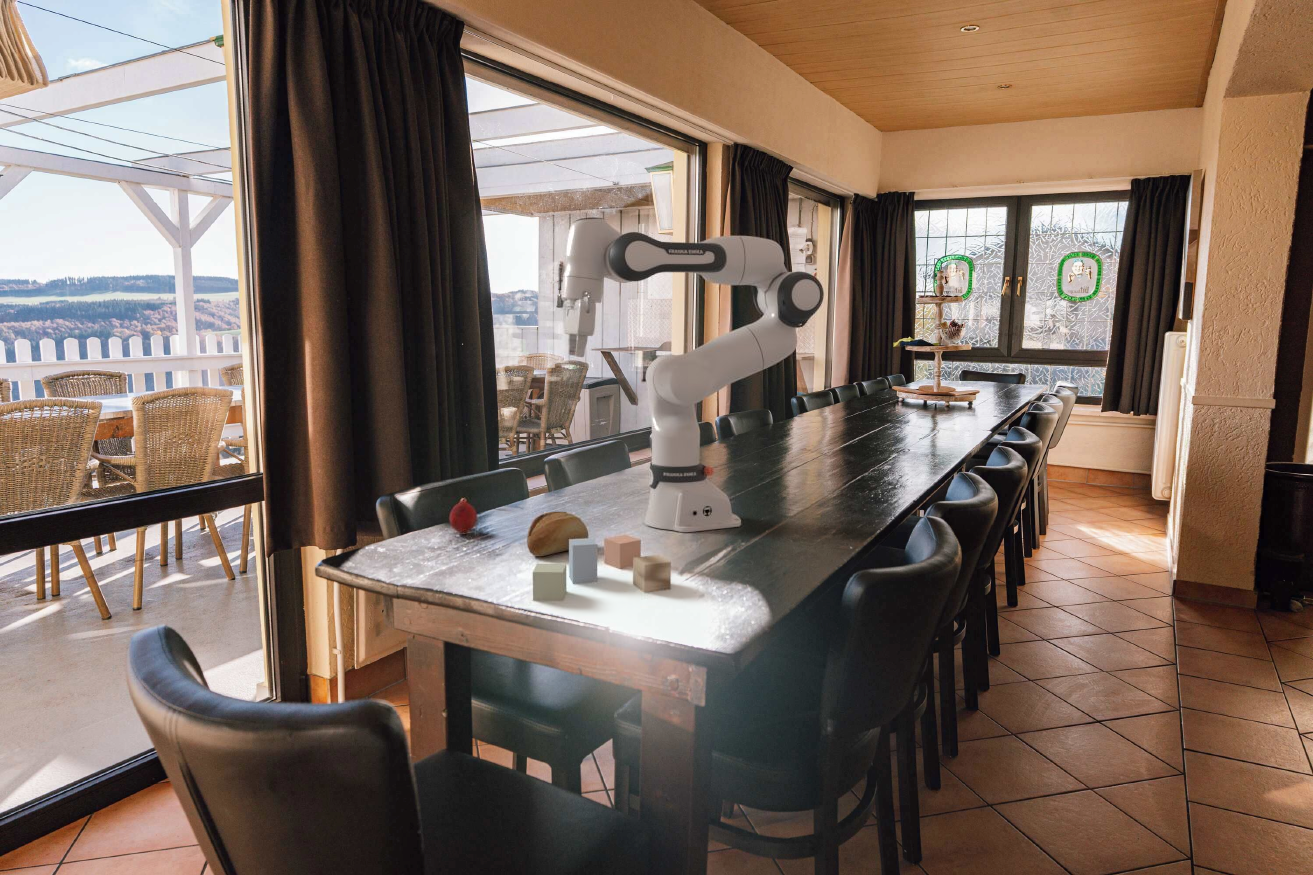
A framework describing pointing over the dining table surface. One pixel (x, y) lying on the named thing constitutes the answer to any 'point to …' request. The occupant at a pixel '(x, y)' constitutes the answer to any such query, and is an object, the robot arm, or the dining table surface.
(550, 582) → the sage block
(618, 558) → the terracotta block
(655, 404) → the robot arm
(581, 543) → the pale blue block
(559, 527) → the bread roll
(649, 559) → the birch block
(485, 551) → the dining table surface
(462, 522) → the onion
